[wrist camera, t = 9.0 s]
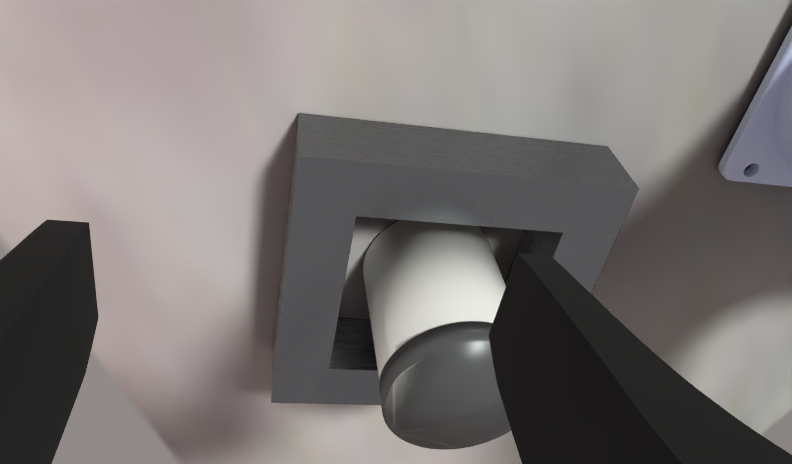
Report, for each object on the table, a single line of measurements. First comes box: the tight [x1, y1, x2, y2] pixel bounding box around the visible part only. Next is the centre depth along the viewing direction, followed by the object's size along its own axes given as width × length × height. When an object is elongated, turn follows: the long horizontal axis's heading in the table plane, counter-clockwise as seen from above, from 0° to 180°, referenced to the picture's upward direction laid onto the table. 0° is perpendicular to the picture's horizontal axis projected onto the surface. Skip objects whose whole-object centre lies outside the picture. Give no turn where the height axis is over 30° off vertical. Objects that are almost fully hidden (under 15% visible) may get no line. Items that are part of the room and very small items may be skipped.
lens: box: [363, 220, 511, 449], centre depth 22 cm, size 5×5×6 cm
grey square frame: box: [271, 113, 639, 405], centre depth 23 cm, size 10×10×2 cm
